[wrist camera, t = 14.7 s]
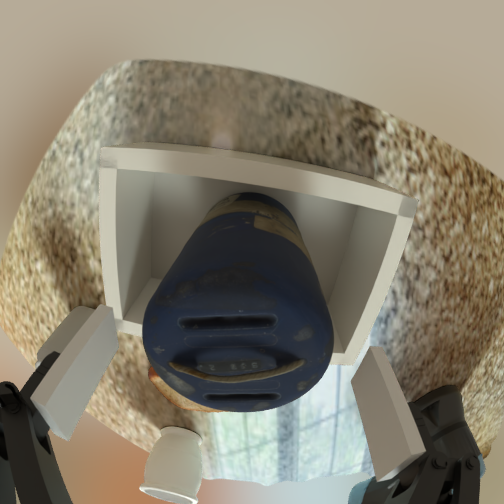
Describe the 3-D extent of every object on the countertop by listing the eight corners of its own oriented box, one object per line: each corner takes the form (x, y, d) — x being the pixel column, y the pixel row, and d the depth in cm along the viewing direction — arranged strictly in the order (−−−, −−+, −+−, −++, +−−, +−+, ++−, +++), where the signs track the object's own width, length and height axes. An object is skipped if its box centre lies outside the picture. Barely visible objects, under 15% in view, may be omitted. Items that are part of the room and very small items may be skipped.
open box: (374, 179, 25) (419, 200, 17) (334, 312, 32) (353, 365, 24) (147, 141, 25) (101, 147, 16) (142, 282, 31) (110, 328, 23)
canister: (286, 285, 29) (308, 440, 13) (198, 272, 29) (140, 417, 12) (306, 197, 26) (382, 306, 9) (206, 181, 25) (114, 267, 9)
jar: (154, 437, 47) (139, 493, 33) (158, 416, 43) (139, 483, 29) (201, 450, 48) (193, 507, 34) (212, 432, 44) (203, 499, 30)
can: (100, 299, 32) (54, 358, 21) (124, 342, 35) (91, 405, 24) (65, 305, 33) (21, 356, 22) (89, 344, 36) (54, 399, 25)
